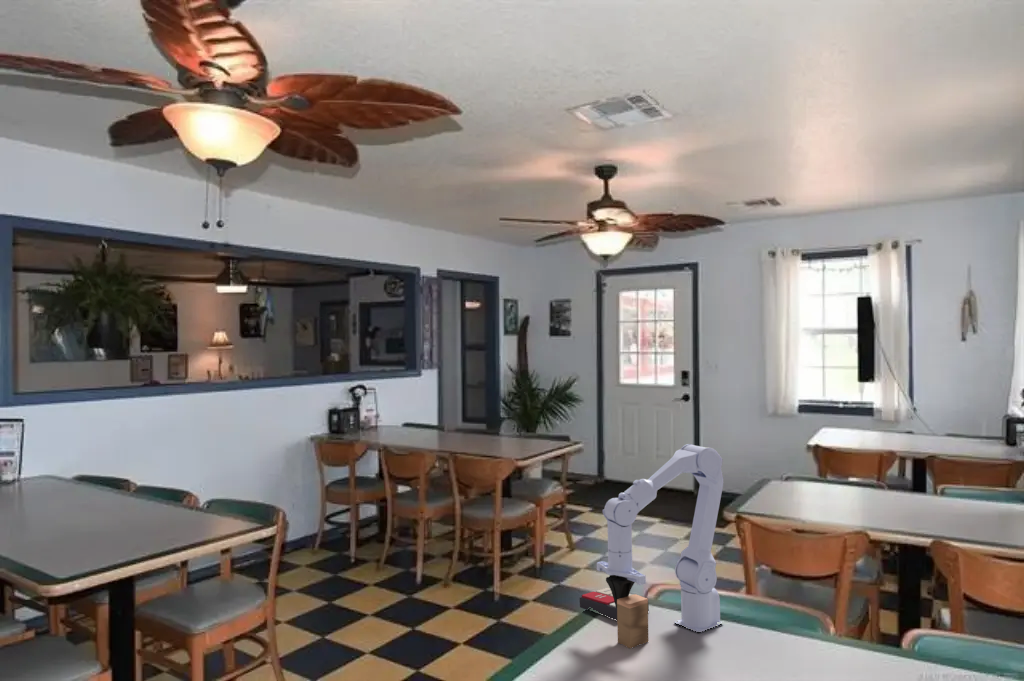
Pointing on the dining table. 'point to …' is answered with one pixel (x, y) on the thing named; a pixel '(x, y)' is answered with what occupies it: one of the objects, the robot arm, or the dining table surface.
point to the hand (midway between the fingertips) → (620, 607)
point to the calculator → (601, 602)
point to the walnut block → (632, 620)
